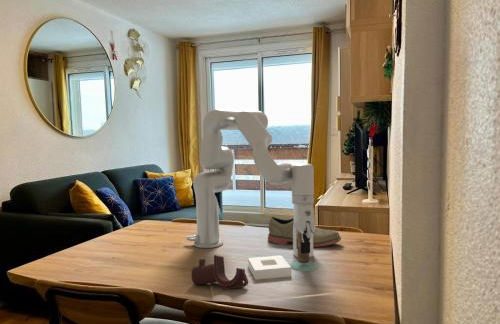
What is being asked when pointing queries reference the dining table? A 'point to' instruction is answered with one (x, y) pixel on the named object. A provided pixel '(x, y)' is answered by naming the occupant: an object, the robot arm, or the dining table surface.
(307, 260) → the walnut dowel
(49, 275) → the dining table surface
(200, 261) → the bracket
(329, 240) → the oxford shoe
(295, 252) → the milk bottle
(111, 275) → the dining table surface
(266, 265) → the pocket block
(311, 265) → the felt pad
